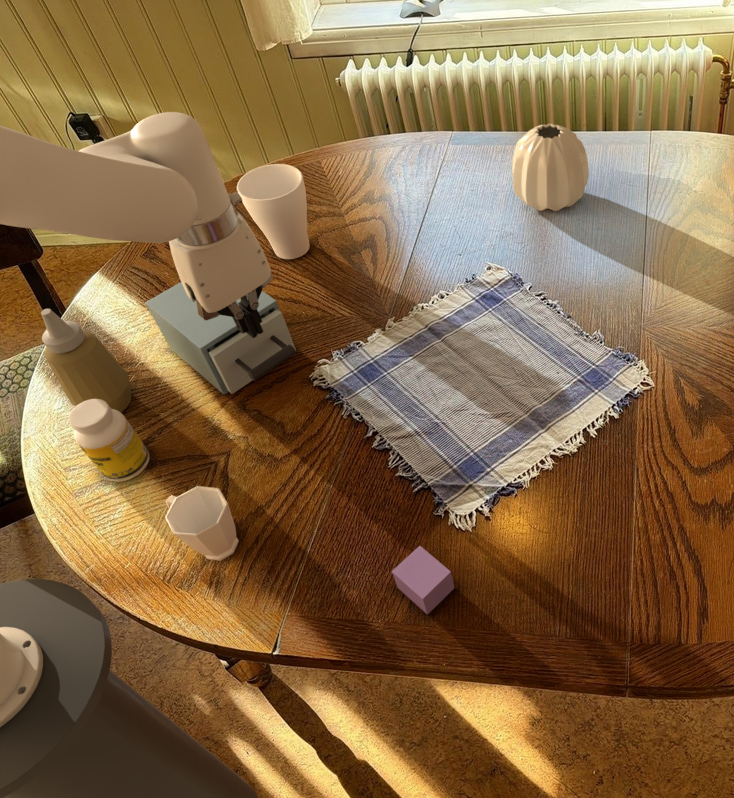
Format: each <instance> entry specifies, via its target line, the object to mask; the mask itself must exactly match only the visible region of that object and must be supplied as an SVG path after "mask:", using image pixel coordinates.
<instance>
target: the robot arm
mask: <svg viewBox="0 0 734 798" xmlns="http://www.w3.org/2000/svg"><path fill="white" fill-rule="evenodd" d="M205 135H206V134H205V132H204V131H203V128H202V126H201V125H200V123H199V122H198V121H197V120H196V119H195V118H194V117H192V116H190V115H189V114H186V113H183V112H178V111H165V112H159V113H155V114H153V115H150V116H147V117H145V118H143V119H141V120H140V121H138V123H136V124H135V125H134V127H132V129H131V130H129V131H127V132H124V133H122V134H119V135H117V136H114V137H111V138H108V139H105V140H102V141H99V142H97V143H94V144H91V145H88V146H86V147H83V148H81V149H79V150H76V149H73V148H69V147H67V146H62V145H59V144H56V143H53V142H50V141H47V140H44V139H41V138H38V137H36V136H33V135H30V134H27V133H24V132H21V131H18V130H16V129H13V128H9V127H7V126H3V125H0V225H4V226H10V227H16V228H23V229H30V230H39V231H40V230H41V231H48V232H54V233H62V234H67V235H73V236H79V237H85V238H93V239H98V240H99V239H100V240H108V241H117V242H118V241H120V242H133V243H147V244H148V243H150V244H163V243H169V248H170V254H171V257H172V260H173V263H174V266H175V269H176V271H177V274H178V277H179V279H180V280H179V281H180V282H182V285H183V287H184V289H185V291H186V293H187V295H188V297H189V298H190V299H191V300H192V301H193V302H195V301H196V304H197V309H198V314H199V316H200V317H202V318H203V319H204V320H209V319H212V318H215V317H218V315H224V316H230V317H232V318H233V320H234V322H235V324H236V326H237V328H238V330H239V331H240V332H241V333H243V334H244V333H247V334H249V335H250V336H251V337H252V338H255V337H257V335H258V334H261V333H263V329H262V327H261V324H260V323H261V322H262V319H261V317H260V315H259V312H258V310H257V308H258V307H259V302H258V299H259V297H260V294H261V292H262V291H263V289H265V288H266V287H267V286H268V285H269V284H270V283H271V282H272V281H273V280H274V275H273V274H272V269H271V266H270V263H269V261H268V259H267V257H266V254H265V252H264V250H263V248H262V246H261V244H260V242H259V240H258V238H257V237H256V236H255V233H254V232H253V231H252V228H251V227H250V226H249V224H248V222H247V221H246V219H245V218H244V217H243V216H242V214H240V212H238V211H237V206H238V205H239V204H241V203H243V202H242V198H241V196H240V195H239V193H238V191H234V192H232V193H228V190H227V188H226V185H225V183H224V179H223V178H222V175H221V173H220V170H219V168H218V165H217V163H216V161H215V157H214V155H213V153H212V150H211V147H210V145H209V142H208V140H207V137H206V136H205ZM238 299H240V301H241V302H239V303H238V304H239V305H238V304H237V302H236V300H238ZM42 669H43V654H42V650H41V647H40V645H39V644H38V642H37V641H36V640H35V639H34V638H33V637H32V636H31V635H29V634H28V633H26V632H25V631H23V630H20V629H17V628H12V627H0V727H2V726H3V725H4V724H5V723H7V722H8V721H9V720H11V719H12V718H13V717H14V716H15V715H16V714H17V713H18V712H19V711H20V710H21V709H22V708H23V707H24V705H25V704H26V703H27V701H28V700H29V699H30V698H31V696H32V694H33V692H34V691H35V689H36V687H37V685H38V683H39V680H40V677H41V674H42Z"/></svg>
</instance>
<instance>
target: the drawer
mask: <svg viewBox="0 0 734 798" xmlns="http://www.w3.org/2000/svg"><path fill="white" fill-rule="evenodd" d="M260 317H261V319H262V322H261V323H260V324H261V327H262V329H263V333H261V334H258V335H257V337H255V338H252V337H251V336H250V335H249V334H247V333H244V334H243V333H241V332H240V331H239V330H237V331H235V332H234V333H232V334H231V335H229V336H227V337H226V338H224V339H223V340H221V341H220V342H218V343H216V344H215V345H213V346H212V347H210V348H208V349H207V350H208V352H209V355H210V357H211V359H212V361H213V363H214V364H215V366H216V368H217V370H218V372H219V374H220V376H221V378H222V380H223V382H224V384H225V386H226V388H227V390H228V391H229V392H228V393H230V394H231V395H233V394H235V393H236V392H237V391H239V390H241V389H242V388H244V387H245V386H247V385H248V384H250V383H251V382H252V381H253V382H257V381H258V380H259V379H262V377H264V376H265V375H267V374H268V373H270V372H271V371H272V370H274V369H277V367H279V366H280V365H281V364H283V363H284V362H286V361H287V360H289V359H290V358H292V357H293V356H295V355H296V354H297V349H296V346H295V344H294V341H293V338H292V335H291V334H290V331H289V328H288V325H287V322H286V320H285V318H284V315H283V312H282V311H281V310H280V311H279V310H275V311H274V312H272V313H269V311H267V312H265V313H264V314H262V315H261V316H260Z"/></svg>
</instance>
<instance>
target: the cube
mask: <svg viewBox="0 0 734 798" xmlns="http://www.w3.org/2000/svg"><path fill="white" fill-rule="evenodd" d="M391 575H392V577H393V579H394V581H395V584H396V587H397V589H398V590H399V591H401V593H403V594H404V596H406V597H407V598H408V599H409V600H410V601H412V602H413V604H415V605H416V606H417V607H418V608H419V609H420V610H421V611H423V612H424V613H425V614H426V615H429V614H430V613H431V612H432V611H433V610H434V609H435V608H436V607H437V606H438V605H439V604H440V603H442V602H443V600H444V599H445V598H446V597H447V596H449V594H450V593H451V592H453V590H454V589H455V583H454V579H453V575H452V571H451V570H450V569H448V568H447V567H446V566H445V565H444V564H443V563H441V562H440V561H439V560H438V559H437V558H435V557H434V556H433V555H432V554H430V552H429V551H427V550H426V549H425V548H424V547H422V546H421V545H419V546H418V547H417V548H416V549H414V551H412V552H411V553H410V554H409V555H408V556H407V557H405V558H404V559H403V560H402V561H401V562H400V563H399V564H398V565H397V566H396V567H395V568H394V569H393V570H391Z"/></svg>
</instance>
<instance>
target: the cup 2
mask: <svg viewBox="0 0 734 798" xmlns="http://www.w3.org/2000/svg"><path fill="white" fill-rule="evenodd" d="M236 192H237V193H239V195H240V196H241V198H242V202H241V203H242V204H243V206H244V207H245V210H246V211H247V212H248V214H249V215H250V217H251V218H252V220H253V221H254V223H255V224H256V225H257V227H258V228H259V229H260V231H262V233H263V235H264V236H265V238H266V239H267V241H268V242H269V244H270V246H271V248H272V250H273V252H274V254H275V255H276V256H277V257H278V258H280V259H283V260H294V259H298V258H300V257H303V256H304V255H306V254H307V252H308V251H309V250H310V247H311V245H310V239H309V234H308V217H307V216H308V204H307V192H306V185H305V180H304V176H303V174H302V172H301V171H300V170H299V169H298V168H297V167H296V166H293V165H291V164H286V163H271V164H265V165H261V166H258V167H256V168H253V169H251V170H250V171H247V172H246V173H245V174H243V176H241V177H240V179H239V180H238V181H237V185H236Z"/></svg>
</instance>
